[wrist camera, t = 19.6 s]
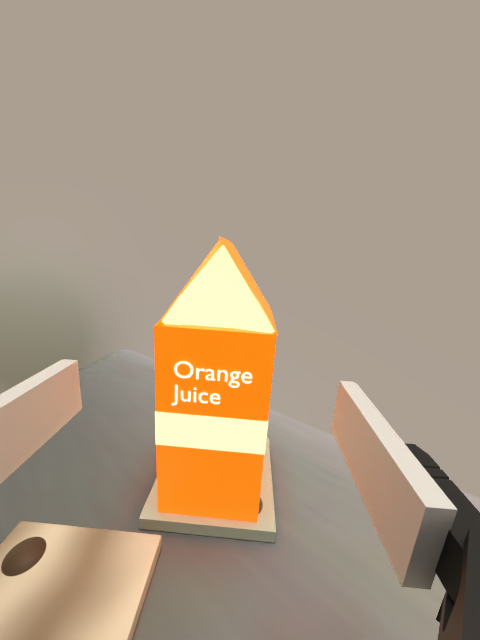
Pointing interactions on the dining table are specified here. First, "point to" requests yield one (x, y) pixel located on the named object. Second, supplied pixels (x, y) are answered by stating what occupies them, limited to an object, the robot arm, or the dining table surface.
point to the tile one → (73, 582)
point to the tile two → (217, 526)
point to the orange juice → (213, 391)
